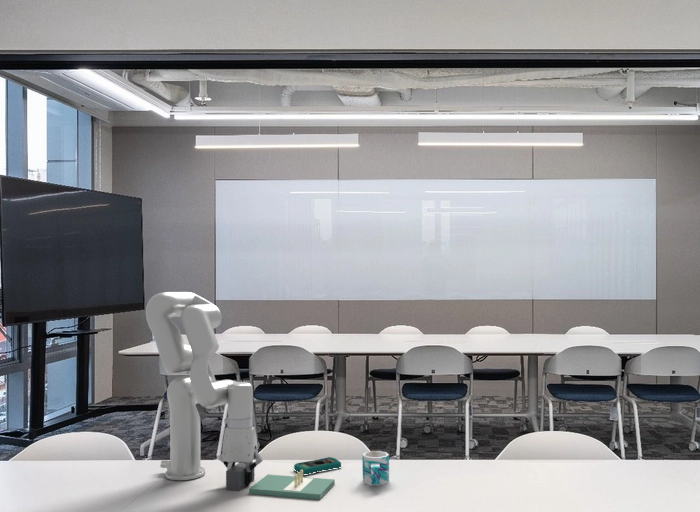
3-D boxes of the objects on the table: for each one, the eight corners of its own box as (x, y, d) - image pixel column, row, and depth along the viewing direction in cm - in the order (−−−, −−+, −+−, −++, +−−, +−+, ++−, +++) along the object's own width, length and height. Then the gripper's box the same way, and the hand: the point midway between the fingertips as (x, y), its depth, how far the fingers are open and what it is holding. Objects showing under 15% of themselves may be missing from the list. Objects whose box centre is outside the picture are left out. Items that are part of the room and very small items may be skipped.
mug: (389, 477, 195) (388, 450, 195) (389, 490, 183) (389, 461, 183) (363, 477, 195) (362, 450, 196) (361, 489, 183) (361, 461, 184)
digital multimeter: (343, 469, 205) (342, 460, 206) (304, 477, 197) (304, 467, 197) (331, 464, 212) (331, 455, 212) (293, 472, 203) (293, 462, 203)
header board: (248, 493, 181) (248, 476, 181) (267, 479, 194) (267, 463, 194) (320, 499, 175) (319, 481, 175) (334, 484, 188) (334, 467, 189)
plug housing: (226, 489, 185) (226, 471, 185) (245, 476, 198) (245, 458, 198) (239, 490, 183) (239, 472, 184) (258, 477, 197) (258, 459, 197)
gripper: (209, 424, 189) (209, 485, 188) (260, 427, 184) (260, 489, 183) (221, 419, 196) (221, 477, 195) (270, 422, 191) (270, 481, 191)
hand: (240, 482), depth 189 cm, fingers closed on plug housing, 4 cm apart
